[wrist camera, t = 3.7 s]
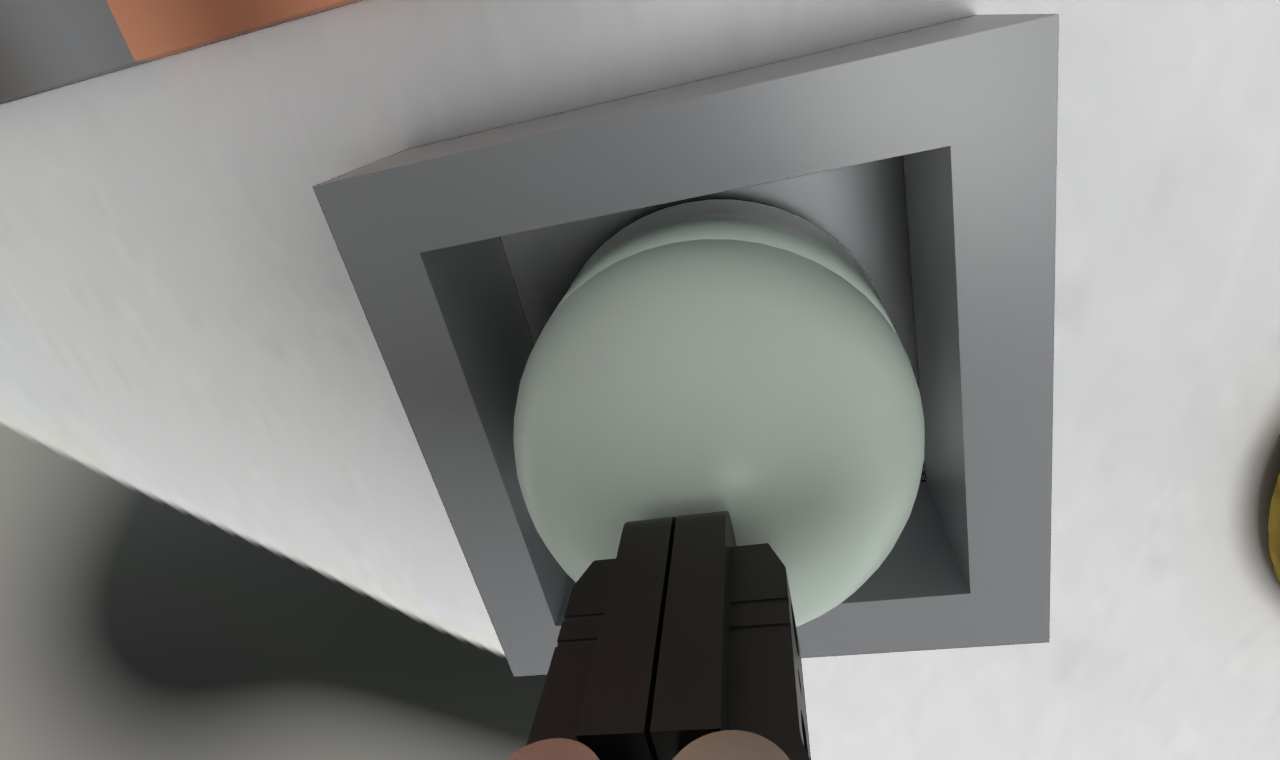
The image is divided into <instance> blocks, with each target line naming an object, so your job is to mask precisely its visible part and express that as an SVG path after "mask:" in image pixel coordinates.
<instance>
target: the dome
mask: <svg viewBox="0 0 1280 760" xmlns="http://www.w3.org/2000/svg"><path fill="white" fill-rule="evenodd" d="M513 442H514V453H515V462H516V470H517V477H518V481H519V484H520V488H521V491H522V495H523V498H524V501H525V504H526V507H527V509H528V512H529V514H530V517H531V519H532V521H533V523H534V526H535V528H536V530H537V532H538V533H539V535H540V537H541V538H542V540H543V542H544V543H545V545H546V547H547V548H548V550H549V551H550V552H551V554H552V555H553V557H554V558H555V559H556V561H557V562H558V563H559V564H560V566H561V567H562V568H563V570H564V571H565V572H566V573H567V574H568V575H569V576H570V577H571V578H572V579H573V580H574V581H575V582H577V581H578V580H579V578H580V577H581V576H582V575H583V573H584V572H585V571H586V570H587V568H588V567H589V566H590V565H591V563H592V562H593V561H595V560H605V559H615V558H616V557H617V552H618V548H619V543H620V539H621V535H622V530H623V527H624V524H625V523H626V522H630V521H639V520H648V519H658V518H667V517H676V518H677V517H678V516H683V515H692V514H701V513H710V512H720V511H728V512H729V514H730V518H731V522H732V526H733V531H734V536H735V540H736V545H737V546H744V545H754V544H764V543H769V545H770V546H771V548H772V549H773V550H774V552H775V553H776V555H777V556H778V557H779V559H780V560H781V561H782V563H783V564H784V566H785V567H786V572H787V578H788V583H789V589H790V595H791V600H792V606H793V612H794V617H795V623H796V627H798V626H800V625H802V624H805V623H807V622H809V621H811V620H813V619H815V618H818V617H820V616H822V615H823V614H825V613H826V612H828V611H830V610H831V609H833V608H835V607H836V606H838V605H839V604H841V603H842V602H843V601H844V600H846V599H847V598H848V597H849V596H851V595H852V594H853V593H854V592H855V591H856V590H857V589H858V588H859V587H861V586H862V585H863V584H864V583H865V582H866V581H867V579H868V578H869V577H870V576H871V575H872V574H873V573H874V572H875V571H876V570H877V569H878V568H879V567H880V565H881V564H882V563H883V561H884V560H885V559H886V557H887V556H888V554H889V553H890V552H891V550H892V549H893V547H894V545H895V543H896V542H897V540H898V538H899V536H900V534H901V532H902V530H903V528H904V527H905V525H906V523H907V521H908V519H909V517H910V514H911V511H912V508H913V505H914V502H915V499H916V496H917V492H918V488H919V484H920V480H921V474H922V468H923V463H924V443H925V430H924V414H923V408H922V401H921V395H920V391H919V388H918V385H917V382H916V379H915V376H914V373H913V369H912V366H911V363H910V360H909V357H908V355H907V353H906V351H905V349H904V347H903V345H902V343H901V341H900V339H899V337H898V335H897V333H896V331H895V329H894V327H893V324H892V322H891V320H890V318H889V316H888V314H887V312H886V310H885V308H884V306H883V304H882V302H881V300H880V298H879V296H878V294H877V292H876V290H875V288H874V286H873V284H872V282H871V280H870V278H869V277H868V276H867V274H866V273H865V271H864V270H863V268H862V267H861V266H860V264H859V263H858V261H857V260H856V259H855V258H854V257H853V256H852V255H851V254H850V253H849V252H848V251H847V250H846V249H845V248H844V247H843V245H842V244H840V243H839V242H838V241H836V240H835V239H834V238H833V237H831V236H830V235H829V234H828V233H826V232H825V231H824V230H822V229H821V228H819V227H817V226H816V225H814V224H812V223H810V222H809V221H807V220H805V219H804V218H801V217H799V216H797V215H794V214H792V213H789V212H787V211H785V210H782V209H779V208H775V207H772V206H768V205H764V204H761V203H756V202H748V201H741V200H703V201H695V202H687V203H683V204H679V205H675V206H672V207H668V208H664V209H661V210H659V211H656V212H654V213H652V214H649V215H647V216H645V217H642V218H640V219H638V220H637V221H635V222H633V223H632V224H630V225H628V226H626V227H625V228H623V229H621V230H620V231H619V232H618V233H616V234H615V235H614V236H612V237H611V238H610V239H609V240H607V241H606V242H605V243H604V244H603V245H602V246H601V247H600V248H599V249H598V250H597V251H596V252H595V253H594V254H593V255H592V256H591V257H590V258H589V259H588V261H587V262H586V264H585V265H584V266H583V268H582V269H581V271H580V272H579V273H578V275H577V276H576V278H575V279H574V281H573V282H572V284H571V286H570V287H569V289H568V290H567V292H566V293H565V295H564V296H563V298H562V300H561V301H560V303H559V304H558V306H557V307H556V309H555V311H554V312H553V314H552V315H551V317H550V318H549V320H548V322H547V323H546V325H545V326H544V328H543V330H542V332H541V334H540V336H539V338H538V339H537V341H536V343H535V345H534V347H533V349H532V351H531V354H530V356H529V358H528V360H527V363H526V366H525V369H524V372H523V375H522V378H521V381H520V385H519V391H518V397H517V402H516V408H515V414H514V434H513Z"/></svg>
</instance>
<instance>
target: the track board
mask: <svg viewBox="0 0 1280 760" xmlns="http://www.w3.org/2000/svg"><path fill="white" fill-rule="evenodd" d="M357 1H361V0H0V104H3V103H7V102H10V101H14V100H17V99H21V98H24V97H28V96H31V95H35V94H38V93H42V92H45V91H49V90H52V89H55V88H59V87H62V86H66V85H69V84H73V83H76V82H80V81H83V80H87V79H90V78H94V77H97V76H101V75H104V74H108V73H111V72H114V71H118V70H121V69H125V68H128V67H132V66H135V65H139V64H142V63H146V62H149V61H153V60H156V59H160V58H163V57H167V56H170V55H173V54H177V53H180V52H184V51H187V50H191V49H194V48H198V47H201V46H205V45H208V44H212V43H215V42H219V41H222V40H226V39H229V38H232V37H236V36H239V35H243V34H246V33H250V32H253V31H257V30H260V29H264V28H267V27H271V26H274V25H278V24H281V23H285V22H288V21H291V20H295V19H298V18H302V17H305V16H309V15H312V14H316V13H319V12H323V11H326V10H330V9H333V8H337V7H340V6H344V5H347V4H350V3H354V2H357Z"/></svg>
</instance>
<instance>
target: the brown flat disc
mask: <svg viewBox="0 0 1280 760" xmlns="http://www.w3.org/2000/svg"><path fill="white" fill-rule="evenodd" d="M1279 437H1280V434H1279ZM1268 537H1269V552H1270V555H1271V559H1272V563H1273V567H1274V570H1275V574H1276V576H1277V578H1278V580H1279V582H1280V473H1279V476H1278V479H1277V483H1276V486H1275V489H1274V493H1273V496H1272V499H1271V505H1270V513H1269V522H1268Z"/></svg>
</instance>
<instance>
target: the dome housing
mask: <svg viewBox="0 0 1280 760" xmlns="http://www.w3.org/2000/svg"><path fill="white" fill-rule="evenodd" d="M1058 36H1059V14H1012V15H974V16H970V17H965V18H961V19H957V20H953V21H948V22H944V23H940V24H936V25H931V26H927V27H923V28H919V29H915V30H910V31H906V32H902V33H898V34H893V35H889V36H885V37H881V38H876V39H872V40H868V41H864V42H859V43H855V44H851V45H847V46H842V47H838V48H834V49H830V50H826V51H821V52H817V53H813V54H809V55H804V56H800V57H796V58H792V59H787V60H783V61H779V62H775V63H770V64H766V65H762V66H758V67H753V68H749V69H745V70H741V71H736V72H732V73H728V74H724V75H720V76H715V77H711V78H707V79H703V80H698V81H694V82H690V83H686V84H681V85H677V86H673V87H669V88H664V89H660V90H656V91H652V92H647V93H643V94H639V95H635V96H631V97H626V98H622V99H618V100H614V101H609V102H605V103H601V104H597V105H592V106H588V107H584V108H580V109H575V110H571V111H567V112H563V113H558V114H554V115H550V116H546V117H542V118H537V119H533V120H529V121H525V122H520V123H516V124H512V125H508V126H503V127H499V128H495V129H491V130H486V131H482V132H478V133H474V134H469V135H465V136H461V137H457V138H453V139H448V140H444V141H440V142H436V143H431V144H427V145H423V146H419V147H414V148H410V149H406V150H404V151H401V152H399V153H396V154H393V155H391V156H388V157H386V158H383V159H381V160H378V161H376V162H373V163H371V164H368V165H366V166H363V167H361V168H358V169H355V170H353V171H350V172H348V173H345V174H343V175H340V176H338V177H335V178H333V179H330V180H328V181H325V182H323V183H320V184H317V185H315V186H313V189H314V191H315V194H316V196H317V199H318V201H319V203H320V206H321V208H322V211H323V213H324V216H325V218H326V221H327V223H328V225H329V228H330V230H331V233H332V235H333V238H334V240H335V242H336V245H337V247H338V250H339V252H340V255H341V257H342V259H343V262H344V264H345V267H346V269H347V272H348V274H349V276H350V279H351V281H352V284H353V286H354V289H355V291H356V293H357V296H358V298H359V301H360V303H361V306H362V308H363V310H364V313H365V315H366V318H367V320H368V323H369V325H370V327H371V330H372V332H373V335H374V337H375V340H376V342H377V344H378V347H379V349H380V352H381V354H382V357H383V359H384V361H385V364H386V366H387V369H388V371H389V374H390V376H391V378H392V381H393V383H394V386H395V388H396V391H397V393H398V396H399V398H400V400H401V403H402V405H403V408H404V410H405V413H406V415H407V417H408V420H409V422H410V425H411V427H412V430H413V432H414V434H415V437H416V439H417V442H418V444H419V447H420V449H421V451H422V454H423V456H424V459H425V461H426V464H427V466H428V468H429V471H430V473H431V476H432V478H433V481H434V483H435V485H436V488H437V490H438V493H439V495H440V498H441V500H442V502H443V505H444V507H445V510H446V512H447V515H448V517H449V519H450V522H451V524H452V527H453V529H454V532H455V534H456V536H457V539H458V541H459V544H460V546H461V549H462V551H463V554H464V556H465V558H466V561H467V563H468V566H469V568H470V571H471V573H472V575H473V578H474V580H475V583H476V585H477V588H478V590H479V592H480V595H481V597H482V600H483V602H484V605H485V607H486V609H487V612H488V614H489V617H490V619H491V622H492V624H493V626H494V629H495V631H496V634H497V636H498V639H499V641H500V643H501V646H502V648H503V651H504V653H505V656H506V658H507V660H508V663H509V665H510V668H511V670H512V673H513V675H514V676H528V675H544V674H548V670H549V667H550V663H551V660H552V656H553V653H554V650H555V647H557V646H558V643H557V639H558V636H559V632H560V629H561V625H562V622H565V617H564V615H565V612H566V608H567V605H568V601H569V598H570V595H571V591H572V588H573V586H574V585H575V583H576V582H575V581H574V580H573V579H572V578H571V577H570V576H569V575H568V574H567V573H566V572H565V571H564V570H563V568H562V567H561V566H560V564H559V563H558V562H557V561H556V559H555V558H554V557H553V555H552V554H551V552H550V551H549V550H548V548H547V547H546V545H545V543H544V542H543V540H542V538H541V537H540V535H539V533H538V532H537V530H536V528H535V526H534V523H533V521H532V519H531V517H530V514H529V512H528V509H527V507H526V504H525V501H524V498H523V495H522V491H521V488H520V484H519V481H518V477H517V470H516V462H515V453H514V442H513V434H514V414H515V408H516V402H517V397H518V391H519V385H520V381H521V378H522V375H523V372H524V369H525V366H526V363H527V360H528V358H529V356H530V354H531V351H532V349H533V347H534V344H533V341H532V338H531V335H530V332H529V328H528V325H527V322H526V319H525V316H524V312H523V309H522V306H521V303H520V300H519V296H518V293H517V290H516V287H515V284H514V280H513V277H512V274H511V271H510V268H509V264H508V261H507V258H506V255H505V252H504V248H503V245H502V242H501V239H500V236H505V235H510V234H515V233H520V232H525V231H530V230H535V229H540V228H545V227H550V226H555V225H560V224H565V223H570V222H575V221H580V220H585V219H590V218H595V217H600V216H605V215H610V214H614V213H619V212H624V211H629V210H634V209H639V208H644V207H649V206H654V205H659V204H664V203H669V202H674V201H679V200H684V199H689V198H694V197H699V196H704V195H709V194H714V193H719V192H724V191H728V190H733V189H738V188H743V187H748V186H753V185H758V184H763V183H768V182H773V181H778V180H783V179H788V178H793V177H798V176H803V175H808V174H813V173H818V172H823V171H828V170H833V169H838V168H843V167H847V166H852V165H857V164H862V163H867V162H872V161H877V160H882V159H887V158H892V157H897V156H902V155H903V164H904V178H905V192H906V206H907V220H908V234H909V248H910V262H911V276H912V290H913V304H914V318H915V332H916V346H917V360H918V374H919V388H920V395H921V401H922V408H923V414H924V430H925V443H924V458H925V472H926V482H921V483H920V484H919V488H918V492H917V496H916V499H915V502H914V505H913V508H912V511H911V514H910V517H909V519H908V521H907V523H906V525H905V527H904V528H903V530H902V532H901V534H900V536H899V538H898V540H897V542H896V543H895V545H894V547H893V549H892V550H891V552H890V553H889V554H888V556H887V557H886V559H885V560H884V561H883V563H882V564H881V565H880V567H879V568H878V569H877V570H876V571H875V572H874V573H873V574H872V575H871V576H870V577H869V578H868V579H867V581H866V582H865V583H864V584H863V585H862V586H861V587H859V588H858V589H857V590H856V591H855V592H854V593H853V594H852V595H851V596H849V597H848V598H847V599H846V600H844V601H843V602H842V603H841V604H839V605H838V606H836V607H835V608H833V609H831V610H830V611H828V612H826V613H825V614H823V615H822V616H820V617H818V618H815V619H813V620H811V621H809V622H807V623H805V624H802V625H800V626H798V627H796V629H797V634H798V640H799V646H800V653H801V658H810V657H826V656H842V655H857V654H873V653H888V652H904V651H920V650H935V649H951V648H967V647H982V646H998V645H1014V644H1029V643H1045V642H1049V622H1050V557H1051V491H1052V426H1053V361H1054V296H1055V231H1056V166H1057V101H1058Z"/></svg>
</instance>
